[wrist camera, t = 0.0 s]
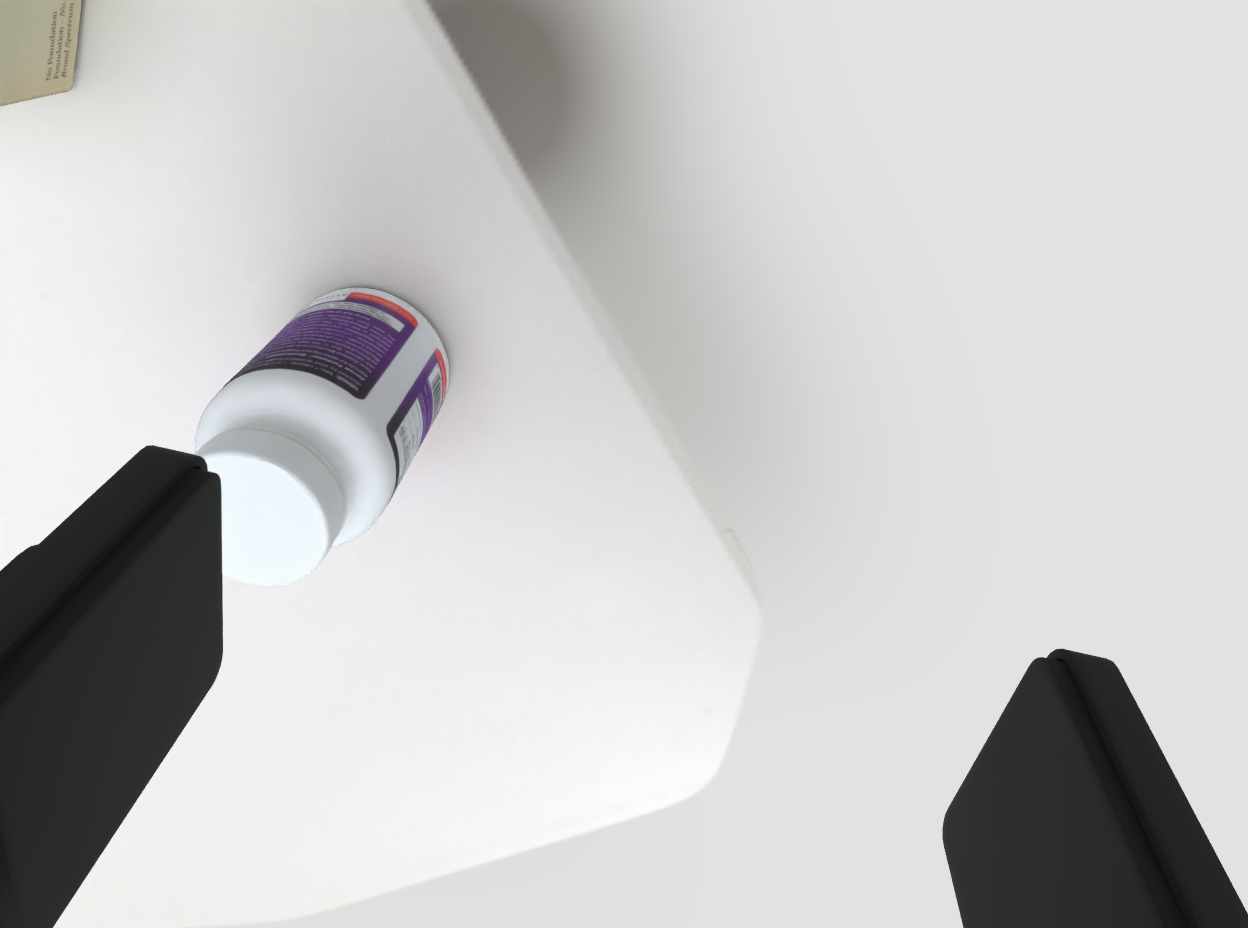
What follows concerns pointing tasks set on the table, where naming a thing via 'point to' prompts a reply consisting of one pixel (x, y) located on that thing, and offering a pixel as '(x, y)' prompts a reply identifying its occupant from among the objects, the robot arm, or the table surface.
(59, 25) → the cosmetic box
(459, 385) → the table surface
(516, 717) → the table surface
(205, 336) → the table surface
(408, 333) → the pill bottle
